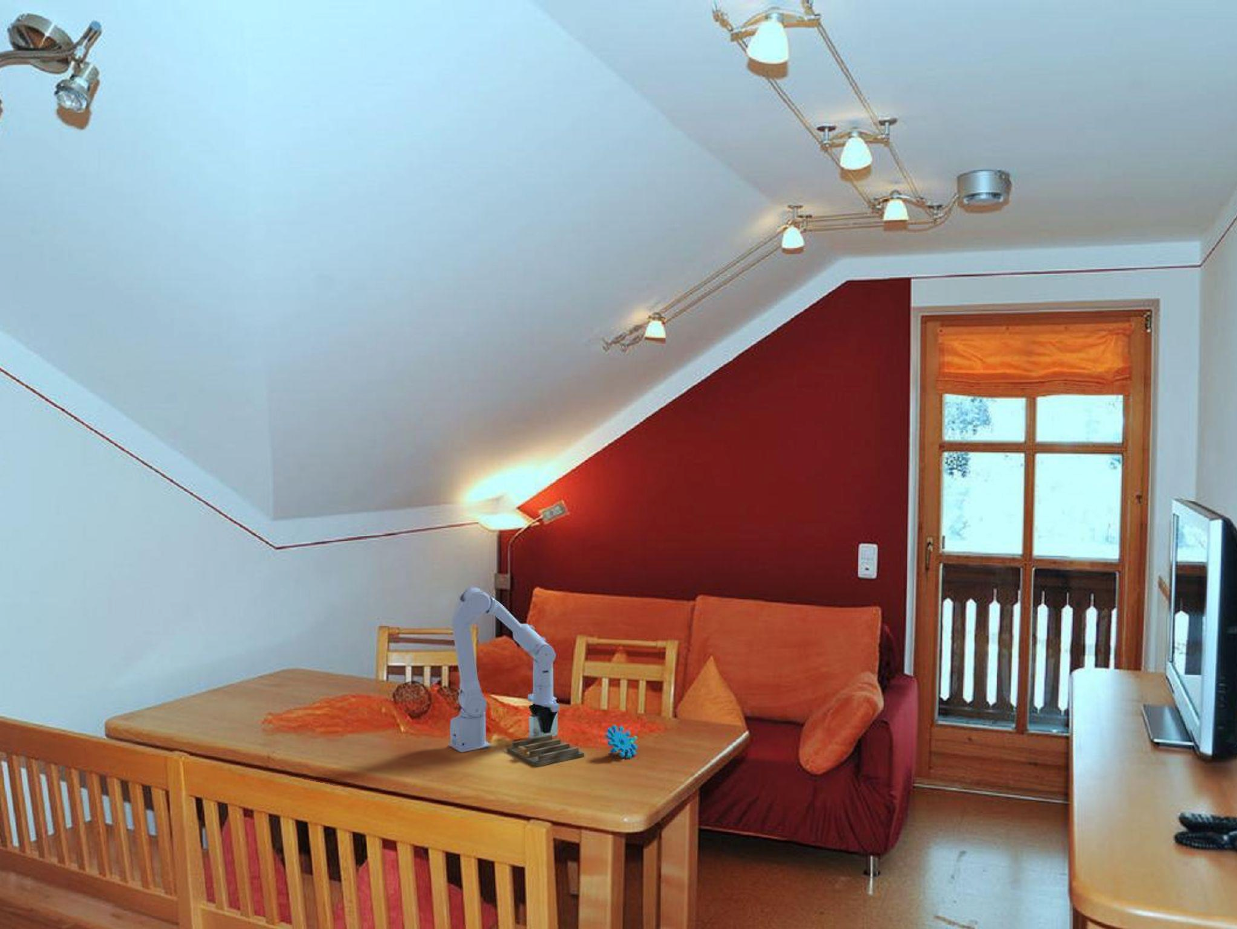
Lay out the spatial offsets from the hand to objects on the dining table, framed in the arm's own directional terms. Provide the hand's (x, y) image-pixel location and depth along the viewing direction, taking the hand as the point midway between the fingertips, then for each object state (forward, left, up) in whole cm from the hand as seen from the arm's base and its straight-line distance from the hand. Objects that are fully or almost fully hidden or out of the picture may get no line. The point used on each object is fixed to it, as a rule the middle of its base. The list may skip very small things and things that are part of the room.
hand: (543, 731), depth 298 cm
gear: (+10, -26, -2) cm, 28 cm away
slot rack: (-7, -13, -2) cm, 15 cm away
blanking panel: (0, 0, -2) cm, 2 cm away
